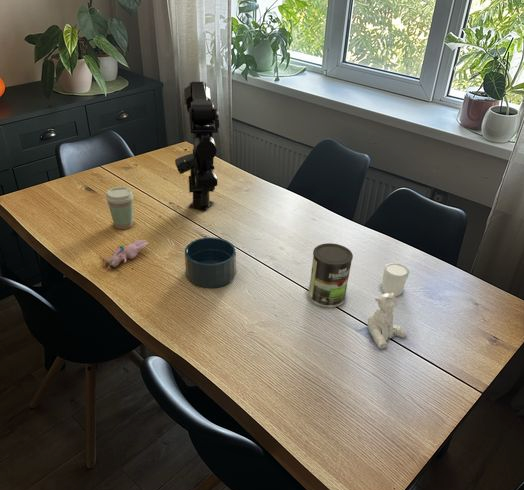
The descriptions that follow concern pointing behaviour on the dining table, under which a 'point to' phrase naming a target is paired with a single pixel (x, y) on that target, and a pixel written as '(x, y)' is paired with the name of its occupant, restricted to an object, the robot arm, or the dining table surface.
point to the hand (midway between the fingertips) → (204, 195)
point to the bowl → (210, 262)
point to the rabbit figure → (125, 253)
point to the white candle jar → (394, 278)
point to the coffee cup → (121, 206)
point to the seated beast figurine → (384, 321)
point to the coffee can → (329, 274)
